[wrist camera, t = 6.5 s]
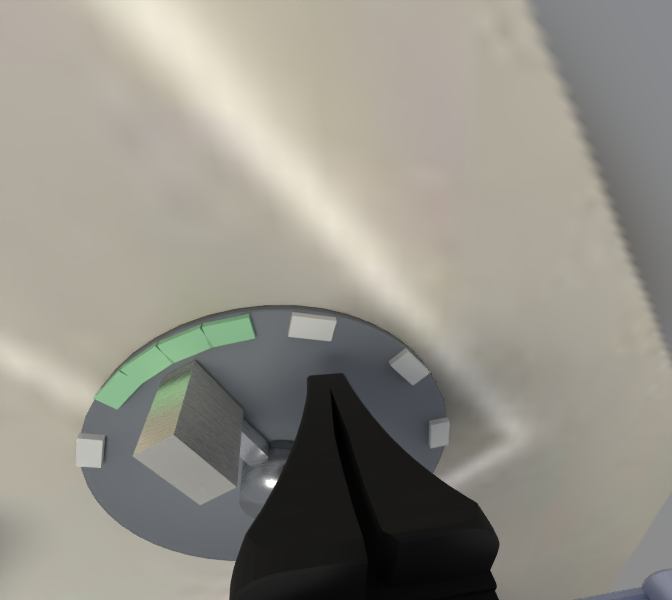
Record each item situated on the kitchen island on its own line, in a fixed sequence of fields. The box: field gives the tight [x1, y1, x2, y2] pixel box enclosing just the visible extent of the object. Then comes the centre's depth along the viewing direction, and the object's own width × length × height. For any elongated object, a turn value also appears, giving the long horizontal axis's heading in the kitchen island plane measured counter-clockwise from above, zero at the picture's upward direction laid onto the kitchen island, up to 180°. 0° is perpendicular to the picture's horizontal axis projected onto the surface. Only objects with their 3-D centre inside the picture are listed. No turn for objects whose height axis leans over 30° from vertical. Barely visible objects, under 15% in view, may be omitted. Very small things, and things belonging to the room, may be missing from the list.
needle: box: [133, 360, 294, 519], centre depth 16 cm, size 9×4×4 cm, turn 28°
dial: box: [76, 306, 450, 561], centre depth 19 cm, size 18×18×1 cm
